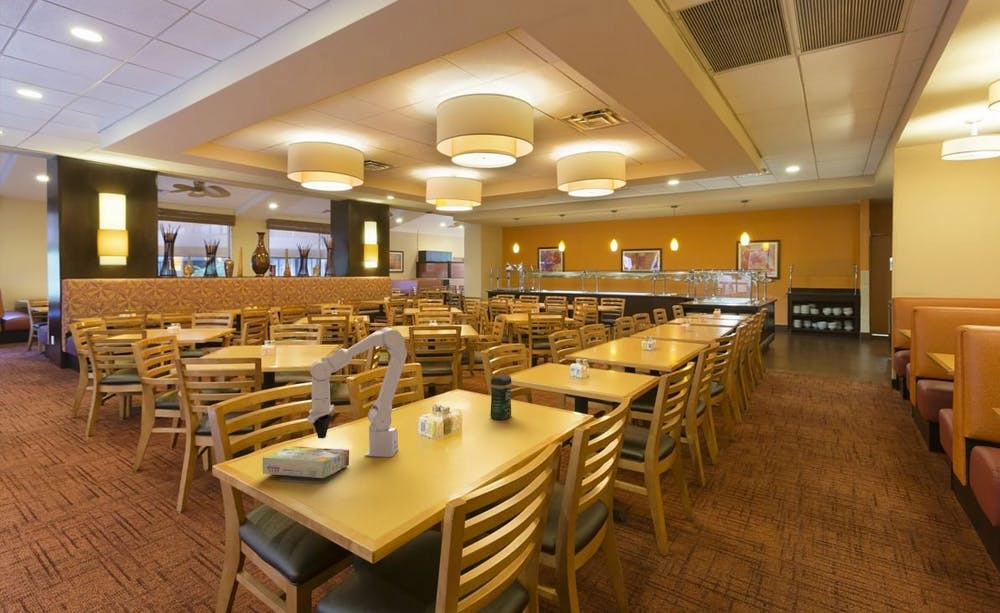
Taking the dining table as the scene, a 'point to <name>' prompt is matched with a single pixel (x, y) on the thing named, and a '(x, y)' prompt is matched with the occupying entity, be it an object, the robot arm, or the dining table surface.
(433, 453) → the dining table surface
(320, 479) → the mat
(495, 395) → the coffee jar
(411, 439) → the dining table surface
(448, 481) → the dining table surface
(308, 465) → the snack box
